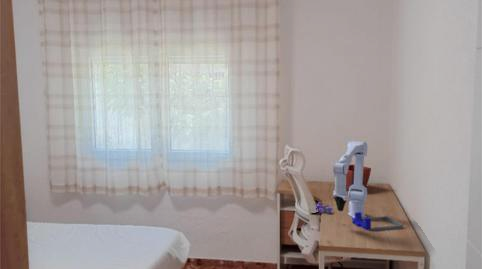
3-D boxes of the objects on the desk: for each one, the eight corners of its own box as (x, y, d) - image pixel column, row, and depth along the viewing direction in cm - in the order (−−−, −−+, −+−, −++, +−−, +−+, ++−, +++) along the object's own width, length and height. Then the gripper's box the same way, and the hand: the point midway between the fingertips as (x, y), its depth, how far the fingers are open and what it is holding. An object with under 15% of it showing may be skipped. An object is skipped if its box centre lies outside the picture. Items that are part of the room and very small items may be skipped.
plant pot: (352, 194, 290) (352, 170, 288) (334, 189, 306) (334, 167, 305) (371, 190, 299) (371, 167, 298) (352, 185, 316) (352, 164, 314)
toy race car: (334, 214, 242) (334, 204, 242) (309, 214, 244) (309, 204, 243) (332, 210, 252) (332, 200, 251) (308, 210, 253) (308, 199, 252)
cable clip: (352, 223, 225) (352, 212, 225) (359, 222, 226) (359, 212, 226) (362, 230, 214) (362, 219, 213) (370, 229, 214) (370, 218, 214)
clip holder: (359, 220, 228) (359, 217, 228) (386, 218, 231) (386, 215, 231) (374, 230, 212) (374, 226, 212) (402, 228, 215) (402, 224, 215)
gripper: (328, 183, 222) (328, 207, 223) (338, 188, 208) (338, 214, 209) (340, 182, 223) (340, 206, 225) (351, 188, 209) (351, 213, 210)
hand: (340, 210), depth 217 cm, fingers closed
